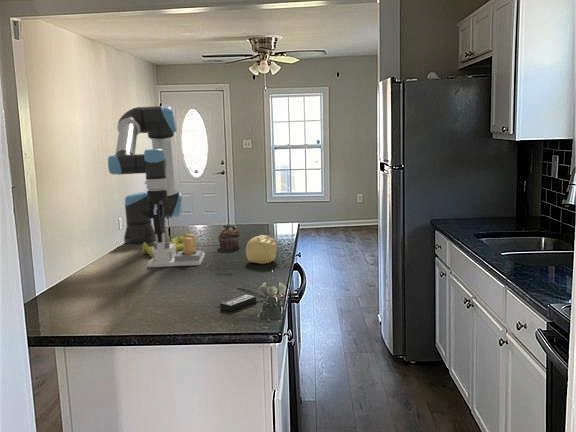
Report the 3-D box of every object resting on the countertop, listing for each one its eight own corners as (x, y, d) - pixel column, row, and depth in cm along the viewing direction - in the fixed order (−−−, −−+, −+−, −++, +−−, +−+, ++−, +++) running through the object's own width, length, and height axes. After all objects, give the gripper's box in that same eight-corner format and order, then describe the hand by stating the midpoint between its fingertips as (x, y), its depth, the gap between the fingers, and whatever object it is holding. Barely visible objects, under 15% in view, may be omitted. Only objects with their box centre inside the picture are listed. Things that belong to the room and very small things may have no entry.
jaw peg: (185, 257, 222) (183, 237, 221) (194, 257, 222) (192, 237, 221) (183, 259, 219) (182, 239, 217) (193, 259, 219) (191, 239, 218)
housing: (156, 258, 230) (154, 235, 229) (204, 255, 231) (203, 233, 229) (147, 267, 215) (145, 242, 213) (199, 264, 215) (198, 240, 214)
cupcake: (242, 245, 251) (240, 223, 250) (238, 249, 242) (236, 226, 240) (221, 245, 252) (219, 223, 251) (216, 249, 243) (215, 227, 241)
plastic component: (152, 253, 230) (142, 240, 236) (151, 267, 234) (141, 254, 240) (195, 242, 241) (184, 230, 247) (193, 256, 245) (183, 243, 251)
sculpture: (273, 266, 209) (272, 237, 207) (243, 265, 211) (241, 237, 210) (280, 259, 220) (279, 232, 218) (251, 258, 222) (249, 232, 221)
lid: (157, 248, 227) (156, 238, 227) (175, 247, 228) (175, 237, 227) (152, 253, 218) (151, 243, 217) (171, 252, 218) (170, 242, 217)
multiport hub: (219, 311, 159) (219, 303, 158) (246, 301, 167) (245, 293, 167) (230, 313, 156) (230, 305, 156) (257, 303, 164) (256, 296, 164)
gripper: (150, 188, 220) (155, 247, 223) (143, 191, 207) (147, 254, 210) (169, 187, 220) (173, 246, 223) (163, 191, 207) (167, 253, 210)
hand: (161, 250), depth 217 cm, fingers closed
